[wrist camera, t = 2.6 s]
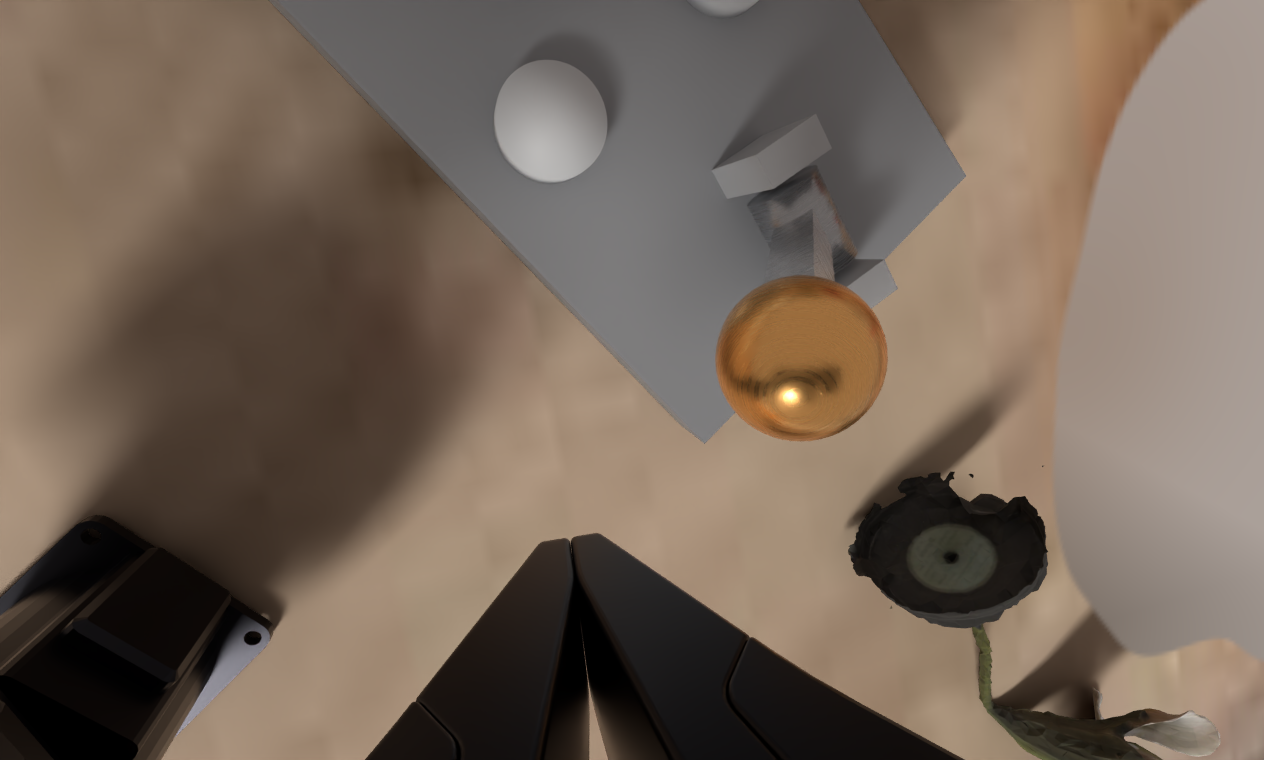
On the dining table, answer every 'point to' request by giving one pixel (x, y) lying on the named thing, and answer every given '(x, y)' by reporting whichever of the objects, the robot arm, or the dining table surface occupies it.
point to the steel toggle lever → (801, 323)
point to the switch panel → (648, 148)
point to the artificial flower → (997, 608)
